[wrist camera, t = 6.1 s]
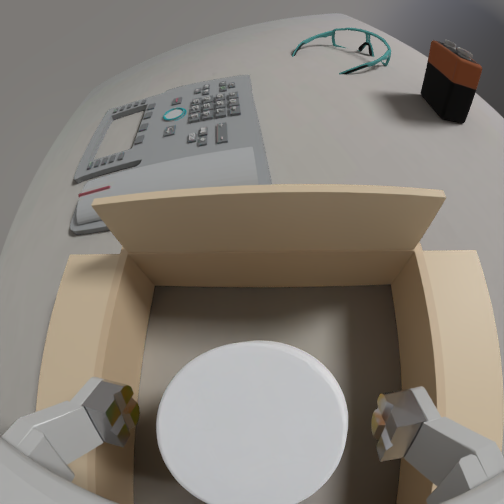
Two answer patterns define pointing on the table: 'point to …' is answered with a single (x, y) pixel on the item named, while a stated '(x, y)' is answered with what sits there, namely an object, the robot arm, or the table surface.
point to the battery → (450, 80)
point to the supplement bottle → (252, 424)
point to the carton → (275, 275)
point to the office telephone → (177, 146)
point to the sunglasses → (385, 56)
